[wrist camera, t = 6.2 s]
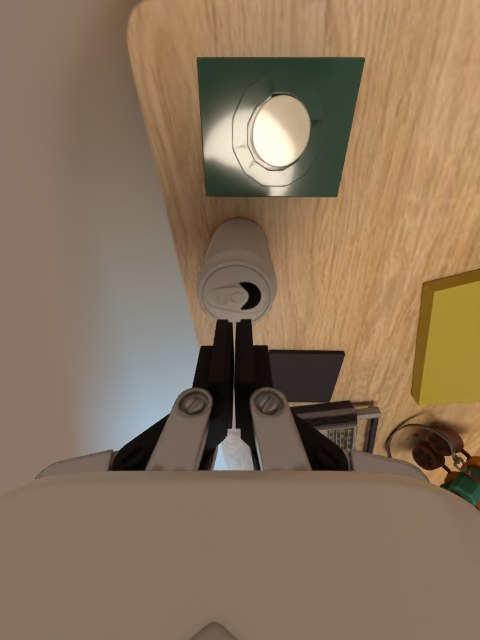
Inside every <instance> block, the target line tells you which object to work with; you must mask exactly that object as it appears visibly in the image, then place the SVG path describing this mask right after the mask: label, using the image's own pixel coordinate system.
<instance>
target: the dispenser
mask: <svg viewBox="0 0 480 640" xmlns="http://www.w3.org/2000/svg"><path fill="white" fill-rule="evenodd" d="M364 62H365V58H364V57H198V58H197V70H198V85H199V100H200V115H201V130H202V145H203V160H204V175H205V190H206V196H208V197H337V195H338V190H339V186H340V181H341V176H342V171H343V166H344V161H345V156H346V151H347V146H348V141H349V136H350V131H351V126H352V121H353V116H354V111H355V106H356V101H357V96H358V92H359V87H360V82H361V77H362V72H363V67H364ZM279 95H288V96H292V97H294V98H296V99H297V100H299V101H300V102H301V103H302V105H303V106H304V107H305V109H306V111H307V113H308V117H309V121H310V135H309V139H308V143H307V145H306V148H305V149H304V151H303V153H302V154H301V155H300V157H299V158H298V159H297V160H296V161H294V162H293V163H291V164H289V165H287V166H284V167H273V166H270V165H268V164H266V163H264V162H263V161H262V160H261V159H260V158H259V157H258V156H257V154H256V153H255V151H254V148H253V145H252V139H251V133H252V126H253V123H254V119H255V117H256V115H257V113H258V111H259V110H260V108H261V107H262V106H263V105H264V103H266V102H267V101H268V100H270V99H271V98H273V97H275V96H279Z"/></svg>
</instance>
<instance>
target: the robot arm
mask: <svg viewBox="0 0 480 640" xmlns="http://www.w3.org/2000/svg"><path fill="white" fill-rule="evenodd" d="M233 389H234V391H235V417H236V429H241V439H242V440H243V441H244V442H245V443H246V444H247V445H248V446H249V452H250V458H251V463H252V469H253V471H213V469H214V464H215V460H216V456H217V451H218V445H219V444H220V443H221V442H222V441H223V440H224V439H225V438H226V436H227V429H232V418H233ZM0 640H480V511H479V510H478V509H477V508H475V507H474V506H473V505H472V504H470V503H469V502H467V501H466V500H464V499H463V498H461V497H459V496H457V495H456V494H454V493H452V492H450V491H448V490H446V489H443V488H441V487H439V486H436V485H434V484H432V483H430V482H429V480H428V478H427V476H426V475H425V474H424V473H423V472H422V471H421V470H420V469H419V468H418V467H416V466H415V465H413V464H411V463H409V462H406V461H403V460H398V459H394V458H389V457H385V456H380V455H376V454H371V453H367V452H362V451H358V450H353V449H350V451H346V450H342V449H341V448H340V447H339V446H338V445H337V444H335V443H334V442H333V441H331V440H330V439H329V438H327V437H326V436H325V435H323V434H322V433H320V432H319V431H318V430H316V429H315V428H314V427H312V426H311V425H310V424H308V423H307V422H306V421H304V420H303V419H301V418H300V417H299V416H297V415H296V414H295V413H293V412H292V411H291V410H290V407H289V405H288V402H287V399H286V397H285V396H284V394H283V393H282V392H280V391H279V390H277V389H275V388H273V382H272V374H271V367H270V359H269V352H268V346H267V345H253V338H252V321H251V319H240V322H236V339H235V370H234V344H233V322H229V321H228V319H217V323H216V330H215V337H214V344H213V346H201V348H200V352H199V357H198V362H197V367H196V371H195V376H194V381H193V386H192V388H190V389H188V390H185V391H183V392H182V393H181V394H180V395H179V396H178V398H177V399H176V401H175V403H174V406H173V408H172V410H171V412H170V414H168V415H167V416H165V417H164V418H163V419H161V420H160V421H158V422H157V423H156V424H154V425H153V426H151V427H150V428H148V429H147V430H146V431H144V432H143V433H142V434H140V435H139V436H137V437H136V438H134V439H133V440H132V441H130V442H129V443H127V444H126V445H125V446H124V447H123V448H121V449H120V450H119V451H115V452H114V451H113V450H107V451H103V452H99V453H94V454H90V455H86V456H81V457H77V458H72V459H67V460H63V461H59V462H56V463H54V464H51V465H49V466H48V467H47V468H45V469H43V470H42V471H41V472H40V474H39V475H38V476H37V477H36V478H35V480H32V481H29V482H26V483H22V484H20V485H17V486H15V487H12V488H10V489H8V490H5V491H3V492H1V493H0Z"/></svg>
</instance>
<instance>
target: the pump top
mask: <svg viewBox="0 0 480 640" xmlns="http://www.w3.org/2000/svg"><path fill="white" fill-rule="evenodd" d="M309 135H310V121H309V117H308V113H307V111H306V109H305V107H304V106H303V105H302V103H301V102H300V101H299V100H297V99H296V98H294V97H292V96H288V95H279V96H275V97H273V98H271V99H270V100H268V101H267V102H266V103H264V105H263V106H262V107H261V108H260V110H259V111H258V113H257V115H256V117H255V119H254V123H253V126H252V133H251V139H252V145H253V148H254V151H255V153H256V154H257V156H258V157H259V158H260V159H261V160H262V161H263V162H264V163H266V164H268V165H270V166H273V167H284V166H287V165H289V164H291V163H293V162H294V161H296V160H297V159H298V158H299V157H300V155H301V154H302V153H303V151H304V149H305V148H306V145H307V143H308V139H309Z"/></svg>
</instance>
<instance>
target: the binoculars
mask: <svg viewBox="0 0 480 640" xmlns="http://www.w3.org/2000/svg"><path fill="white" fill-rule="evenodd" d="M409 426H412V427H421V428H425V429H428V430H431V432H430V433H429V434H428V438H427V439H428V442H427V441H422V442H420V443H419V444H418V445H417V446H416V447H414V449H413V451H412V455H413V458H414V460H415V462H416V463H417V464H418V465H419V466H420V467H422V468H423V469H426V470H434V469H437V468H440V467H443V468H444V469H445V470H446V471H447V472H448V474H447V477H446V478H445V480H444V482H445V483H443V484H442V485H440V487H441V488H443V489H446V490H448V491H450V492H452V493H454V494H456V495H457V496H459V497H461V498H463V499H464V500H466V501H467V502H469V503H470V504H472V505H473V506H474V507H475V508H477V506H475V505H476V504H477V502H478V501H479V500H480V457H479V456H472V457H471V456H470V455H469V454H468V453H467V452H466V451H465V450H464V449H463V447H464V444H463V441H462V439H461V437H460V436H459V434H458V433H457V432H455V431H454V430H453V429H451V428H449V427H446V426H437V427H435V428H432V427H428V426H425V425H421V424H408V425H405V426H403V427H401V428H399V429H398V430H400V429H402V428H404V427H409ZM398 430H396V431H395V432H394V433H393V434H392V435H391V437H390V439H389V441H388V444H387V454H388V457H389V458H392V457H391V453H390V442H391V439H392V437H393V435H394V434H395V433H396V432H397V431H398ZM459 452H461V453H463V454H464V455H465V456H466V457H467V460H466V462H464V461H463V459H462V458H461V457H458V456H457V455H456V453H459ZM450 455H452V458H453V460H454V461H455V462H454V466H455V467H456V468H457V469H458V470H459V471H460V472H457V471H453V472H451V470H450V469H449V468H448V467H447V466H446V465H444V464H445V458H444V456H450ZM460 461H461V462H462V463H463V466H462V467H461V469H460V468H459V467H458V466H457V464H459V463H460ZM477 509H478V508H477ZM478 510H479V509H478ZM479 511H480V510H479Z"/></svg>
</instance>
